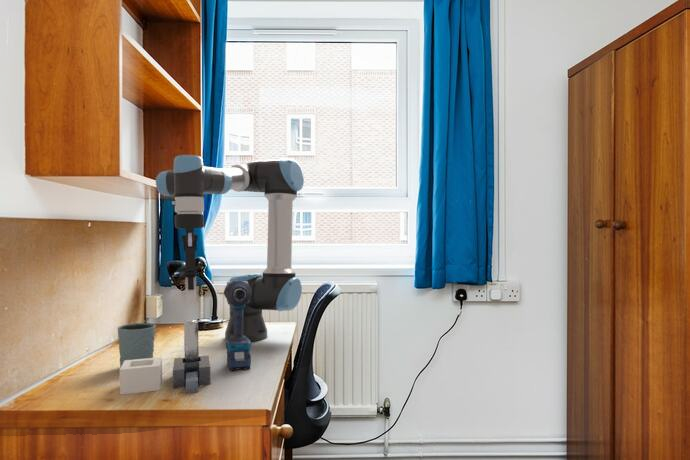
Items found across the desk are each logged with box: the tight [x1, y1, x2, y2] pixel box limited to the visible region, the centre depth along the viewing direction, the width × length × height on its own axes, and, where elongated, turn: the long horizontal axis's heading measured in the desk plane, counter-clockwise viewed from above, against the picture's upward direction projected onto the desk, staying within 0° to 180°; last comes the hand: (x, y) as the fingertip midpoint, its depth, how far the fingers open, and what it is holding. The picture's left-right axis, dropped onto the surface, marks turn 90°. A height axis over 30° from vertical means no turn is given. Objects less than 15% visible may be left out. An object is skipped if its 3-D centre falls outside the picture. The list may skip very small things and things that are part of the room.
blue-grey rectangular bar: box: [185, 372, 199, 394], centre depth 122 cm, size 8×3×3 cm, turn 17°
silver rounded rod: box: [183, 319, 200, 363], centre depth 131 cm, size 4×4×15 cm
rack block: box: [119, 356, 163, 395], centre depth 123 cm, size 9×9×6 cm
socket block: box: [172, 355, 212, 389], centre depth 128 cm, size 12×9×4 cm
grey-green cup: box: [117, 322, 156, 369], centre depth 141 cm, size 10×10×12 cm
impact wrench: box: [223, 280, 252, 371], centre depth 139 cm, size 8×23×25 cm, turn 15°
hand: (191, 301), depth 131 cm, fingers open, 2 cm apart
